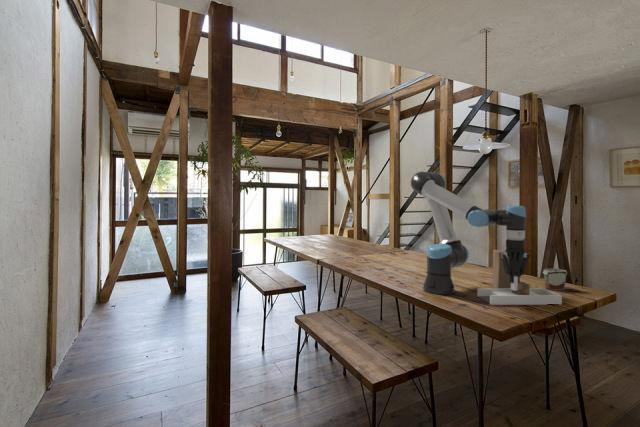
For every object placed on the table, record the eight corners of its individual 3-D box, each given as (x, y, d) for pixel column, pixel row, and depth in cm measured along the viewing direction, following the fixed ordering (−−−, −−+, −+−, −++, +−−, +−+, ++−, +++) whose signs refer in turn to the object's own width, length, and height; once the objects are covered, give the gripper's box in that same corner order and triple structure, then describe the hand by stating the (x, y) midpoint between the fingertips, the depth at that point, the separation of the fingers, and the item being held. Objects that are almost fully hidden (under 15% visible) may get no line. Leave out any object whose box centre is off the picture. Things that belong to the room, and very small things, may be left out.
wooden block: (519, 292, 161) (521, 253, 160) (498, 291, 163) (499, 252, 162) (512, 287, 170) (513, 250, 170) (491, 286, 172) (492, 249, 172)
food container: (556, 286, 173) (556, 267, 173) (566, 289, 167) (567, 270, 167) (536, 287, 171) (537, 268, 171) (546, 290, 165) (547, 271, 165)
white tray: (490, 304, 142) (491, 295, 142) (477, 296, 154) (477, 288, 154) (561, 304, 143) (561, 295, 143) (542, 296, 155) (542, 288, 155)
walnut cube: (518, 295, 146) (518, 284, 146) (511, 292, 151) (512, 281, 151) (529, 295, 146) (529, 284, 146) (522, 292, 151) (522, 281, 151)
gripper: (506, 240, 143) (504, 292, 144) (534, 240, 143) (533, 292, 144) (496, 238, 151) (495, 287, 152) (524, 238, 151) (522, 287, 152)
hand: (514, 289), depth 148 cm, fingers closed
